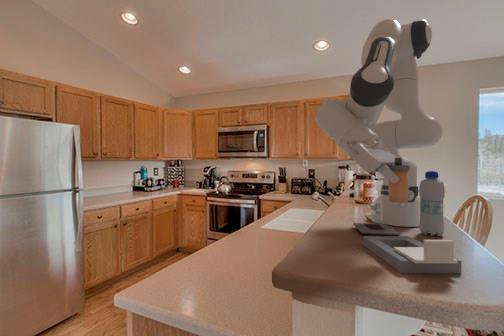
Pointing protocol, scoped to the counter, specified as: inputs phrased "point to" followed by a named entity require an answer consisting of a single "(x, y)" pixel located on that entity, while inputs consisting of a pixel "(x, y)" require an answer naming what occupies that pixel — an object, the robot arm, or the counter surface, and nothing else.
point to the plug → (399, 183)
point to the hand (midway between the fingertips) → (401, 180)
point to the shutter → (430, 252)
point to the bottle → (431, 204)
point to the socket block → (386, 252)
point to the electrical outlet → (375, 229)
